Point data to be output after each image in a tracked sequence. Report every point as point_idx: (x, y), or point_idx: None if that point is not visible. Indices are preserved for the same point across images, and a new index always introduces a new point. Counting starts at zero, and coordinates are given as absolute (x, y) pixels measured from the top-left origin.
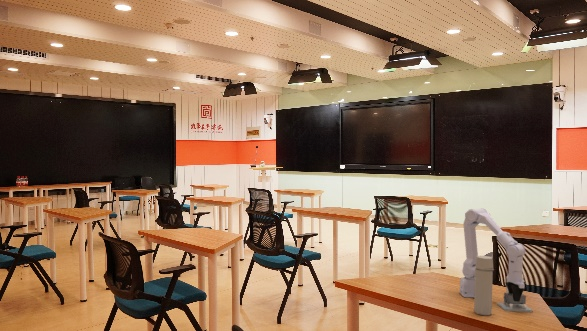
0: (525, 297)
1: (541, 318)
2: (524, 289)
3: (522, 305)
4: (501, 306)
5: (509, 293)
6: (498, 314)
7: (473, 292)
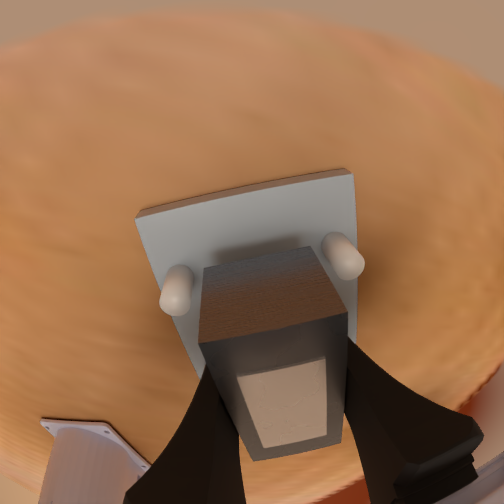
0: (337, 297)
1: (473, 152)
2: (466, 416)
3: (214, 241)
4: None
5: (284, 441)
6: (409, 379)
7: (125, 470)
